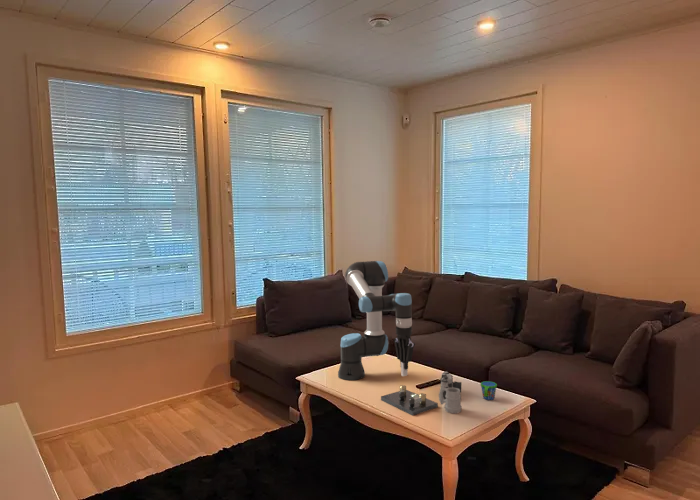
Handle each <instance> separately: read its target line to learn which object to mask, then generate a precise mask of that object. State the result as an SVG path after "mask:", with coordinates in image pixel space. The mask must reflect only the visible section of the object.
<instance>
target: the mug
mask: <svg viewBox="0 0 700 500" xmlns="http://www.w3.org/2000/svg"><path fill="white" fill-rule="evenodd" d="M444 391H446V395H445V397H446V399H444V398H443V392H444ZM461 399H462V395H461V393H460V389H458V388H445V384H444V382H442V385H441V384H440V388H439V392H438V400H439V402H440V405H444V404H445V405H444V409H445V411H446V413H449V414H459V413H461V411H462V408H463V407H462V404H461Z"/></svg>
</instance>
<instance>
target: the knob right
mask: <svg viewBox="0 0 700 500" xmlns="http://www.w3.org/2000/svg"><path fill="white" fill-rule="evenodd" d="M418 394H419V397H416V398H409V406H410V407H414V404H416V403H420V404H426V398H427V394H426V393H418Z"/></svg>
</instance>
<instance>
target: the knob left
mask: <svg viewBox="0 0 700 500" xmlns="http://www.w3.org/2000/svg"><path fill="white" fill-rule="evenodd" d="M406 390H407V385H404V384H402V385H400V386H399V391H400V392H399V399H400V400H404V395H406Z"/></svg>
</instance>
